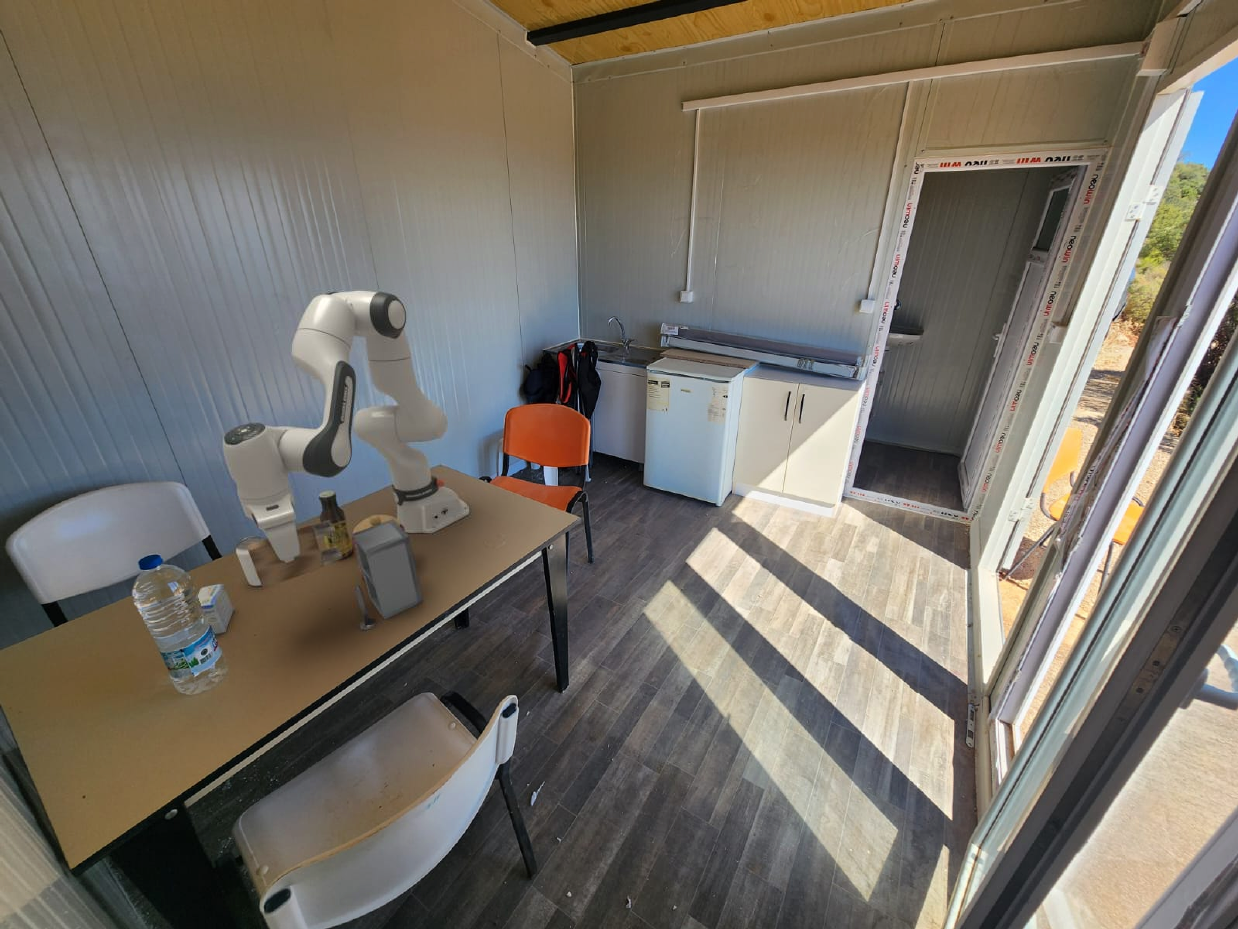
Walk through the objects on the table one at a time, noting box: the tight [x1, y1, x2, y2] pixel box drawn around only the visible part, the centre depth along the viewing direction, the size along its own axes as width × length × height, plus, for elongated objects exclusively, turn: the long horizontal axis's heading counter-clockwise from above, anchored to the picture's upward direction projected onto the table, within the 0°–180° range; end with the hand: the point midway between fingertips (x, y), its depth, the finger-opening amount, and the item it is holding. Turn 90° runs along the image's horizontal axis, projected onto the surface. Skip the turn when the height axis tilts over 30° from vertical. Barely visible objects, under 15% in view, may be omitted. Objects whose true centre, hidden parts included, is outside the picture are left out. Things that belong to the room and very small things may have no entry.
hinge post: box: [354, 585, 377, 631], centre depth 115 cm, size 4×4×12 cm
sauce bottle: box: [318, 490, 353, 559], centre depth 138 cm, size 6×6×20 cm
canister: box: [351, 514, 406, 581], centre depth 132 cm, size 13×13×18 cm
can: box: [235, 535, 264, 587], centre depth 129 cm, size 6×6×12 cm
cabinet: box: [352, 519, 423, 621], centre depth 121 cm, size 10×10×20 cm
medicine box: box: [197, 583, 235, 635], centre depth 116 cm, size 8×4×9 cm, turn 23°
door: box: [247, 520, 343, 590], centre depth 109 cm, size 16×4×10 cm, turn 132°
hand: (287, 556), depth 108 cm, fingers closed on door, 2 cm apart
